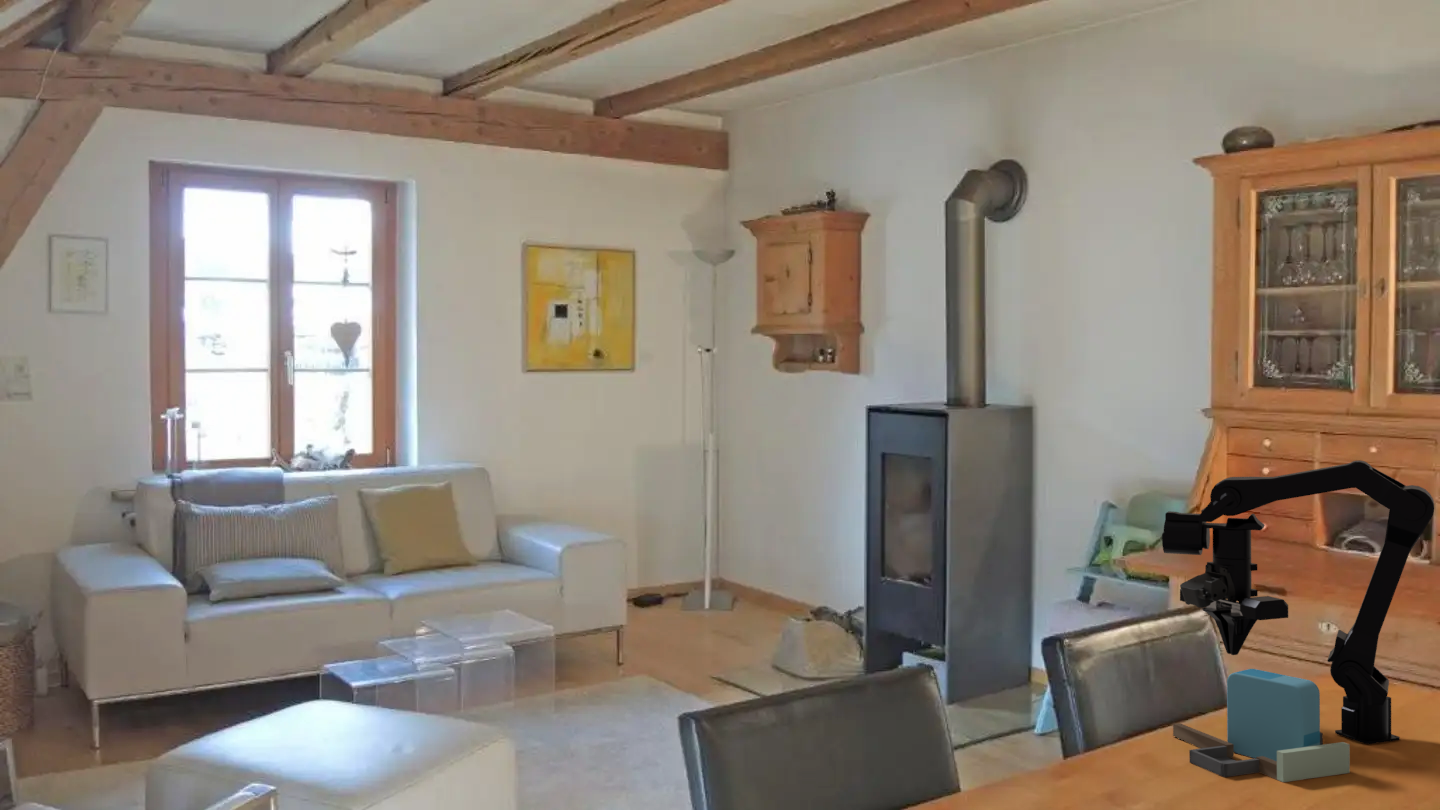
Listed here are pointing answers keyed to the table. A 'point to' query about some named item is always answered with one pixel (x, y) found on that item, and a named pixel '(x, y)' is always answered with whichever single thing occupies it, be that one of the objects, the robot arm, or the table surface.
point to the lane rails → (1207, 740)
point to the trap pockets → (1224, 761)
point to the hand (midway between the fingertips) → (1232, 654)
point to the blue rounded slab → (1271, 713)
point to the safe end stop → (1313, 761)
